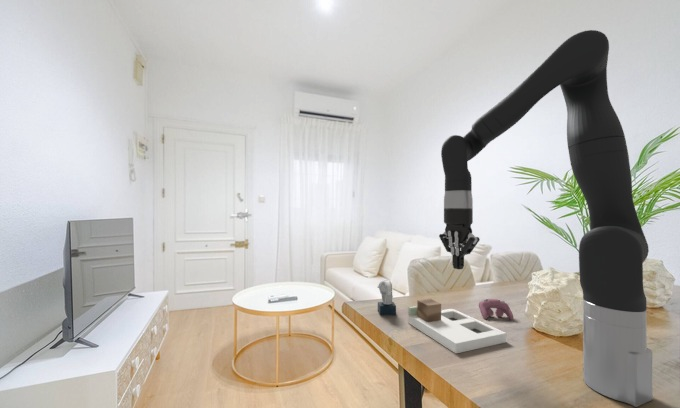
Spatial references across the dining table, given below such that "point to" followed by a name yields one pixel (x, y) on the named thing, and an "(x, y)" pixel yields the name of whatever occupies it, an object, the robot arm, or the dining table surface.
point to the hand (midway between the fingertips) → (458, 268)
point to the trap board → (457, 330)
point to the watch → (386, 299)
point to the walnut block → (429, 310)
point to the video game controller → (494, 303)
